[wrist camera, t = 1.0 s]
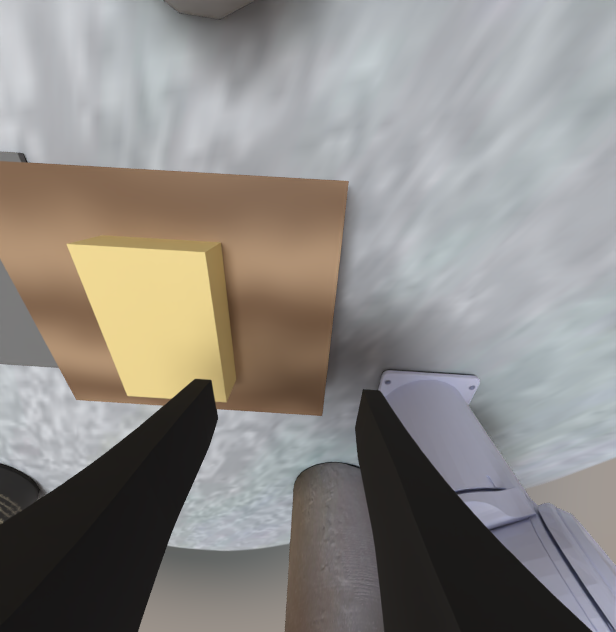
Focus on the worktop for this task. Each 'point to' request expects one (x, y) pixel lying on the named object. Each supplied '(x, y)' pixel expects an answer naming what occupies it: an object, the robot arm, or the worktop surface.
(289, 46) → the worktop surface
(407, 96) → the worktop surface
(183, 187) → the plate
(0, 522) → the jar
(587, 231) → the worktop surface
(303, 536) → the pillar candle
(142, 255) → the yellow block
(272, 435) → the worktop surface
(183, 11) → the cup
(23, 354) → the mat
